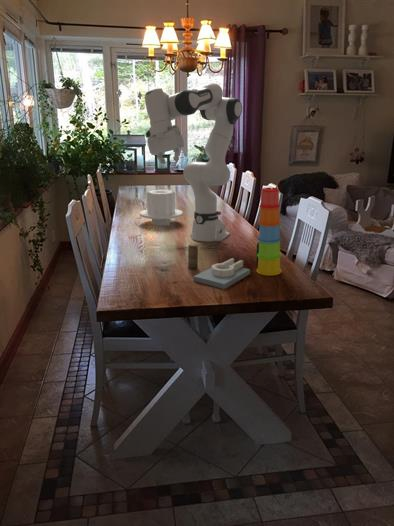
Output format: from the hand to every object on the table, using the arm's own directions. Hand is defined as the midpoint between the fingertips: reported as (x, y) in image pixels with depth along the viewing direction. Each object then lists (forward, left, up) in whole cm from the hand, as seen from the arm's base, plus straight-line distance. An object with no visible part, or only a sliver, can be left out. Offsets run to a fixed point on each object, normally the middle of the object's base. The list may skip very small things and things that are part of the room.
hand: (169, 162), depth 186 cm
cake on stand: (-46, -44, -43) cm, 76 cm away
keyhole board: (+9, +33, -42) cm, 55 cm away
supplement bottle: (-17, +38, -43) cm, 60 cm away
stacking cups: (-8, +45, -42) cm, 63 cm away
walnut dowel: (+7, +17, -42) cm, 46 cm away
